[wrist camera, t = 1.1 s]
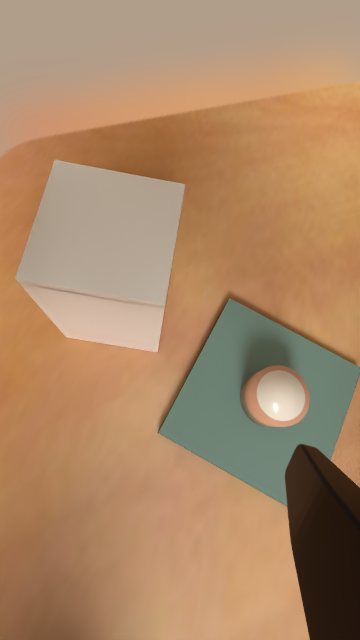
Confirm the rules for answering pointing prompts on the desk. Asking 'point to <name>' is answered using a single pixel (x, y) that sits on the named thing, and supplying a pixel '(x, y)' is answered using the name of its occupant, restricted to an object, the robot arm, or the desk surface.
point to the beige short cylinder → (275, 397)
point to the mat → (225, 407)
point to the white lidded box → (103, 254)
